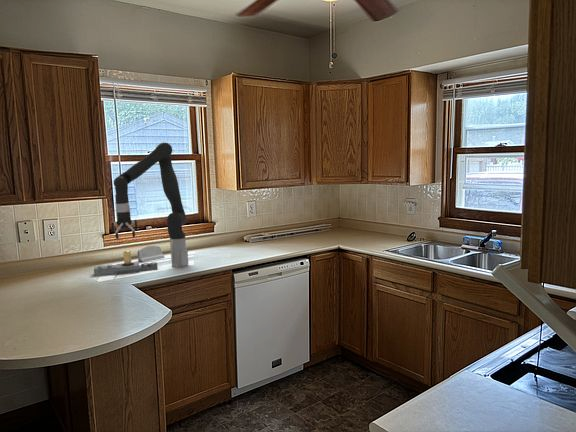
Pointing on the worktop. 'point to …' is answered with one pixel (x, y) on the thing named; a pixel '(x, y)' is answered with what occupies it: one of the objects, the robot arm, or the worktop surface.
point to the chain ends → (123, 268)
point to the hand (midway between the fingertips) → (125, 238)
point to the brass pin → (127, 258)
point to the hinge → (150, 253)
